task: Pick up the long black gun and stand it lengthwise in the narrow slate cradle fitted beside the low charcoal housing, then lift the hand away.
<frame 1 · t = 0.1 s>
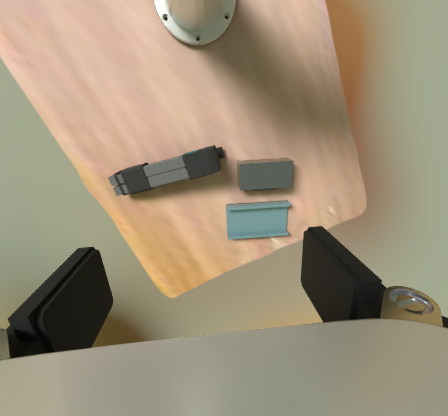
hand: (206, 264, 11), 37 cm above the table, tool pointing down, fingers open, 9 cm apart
cradle tray: (256, 218, 50), on the table
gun: (170, 166, 46), on the table
housing: (262, 172, 47), on the table
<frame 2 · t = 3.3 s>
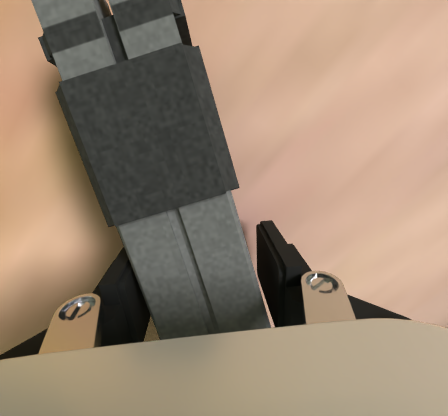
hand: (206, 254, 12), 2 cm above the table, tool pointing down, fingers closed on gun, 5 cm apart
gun: (207, 237, 13), on the table, touching gripper
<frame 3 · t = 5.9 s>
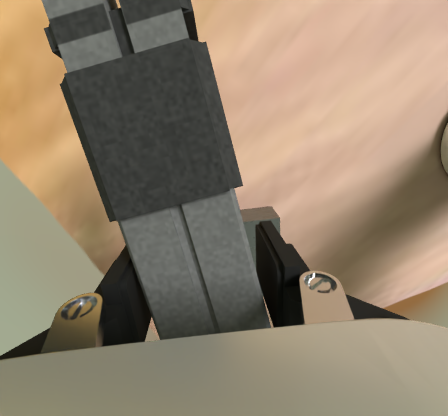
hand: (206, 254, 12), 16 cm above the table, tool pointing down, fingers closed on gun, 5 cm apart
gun: (207, 235, 13), point 14 cm above the table, touching gripper
housing: (252, 245, 30), on the table
when the fingers open (3 cm above the table, at t = 8.8 s): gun stays where it is, resting on cradle tray.
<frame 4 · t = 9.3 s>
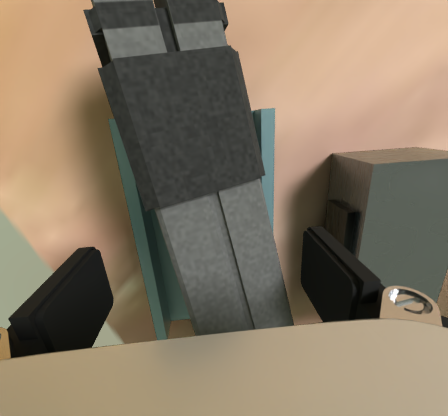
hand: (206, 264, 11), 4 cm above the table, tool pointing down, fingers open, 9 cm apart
cradle tray: (206, 229, 14), on the table
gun: (197, 233, 14), point 1 cm above the table, touching cradle tray
housing: (362, 229, 15), on the table
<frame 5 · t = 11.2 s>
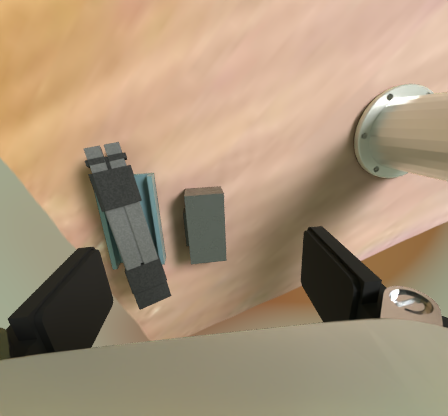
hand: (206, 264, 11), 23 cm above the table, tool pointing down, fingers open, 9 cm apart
cradle tray: (134, 219, 33), on the table
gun: (129, 221, 33), point 1 cm above the table, touching cradle tray
housing: (205, 220, 35), on the table
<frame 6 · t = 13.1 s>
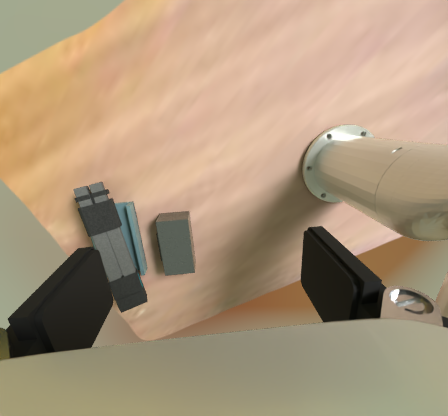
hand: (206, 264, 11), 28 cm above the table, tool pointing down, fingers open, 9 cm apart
cradle tray: (119, 238, 41), on the table
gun: (115, 240, 40), point 1 cm above the table, touching cradle tray
housing: (178, 238, 41), on the table
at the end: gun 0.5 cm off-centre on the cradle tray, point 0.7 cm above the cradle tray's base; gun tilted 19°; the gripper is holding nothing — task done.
